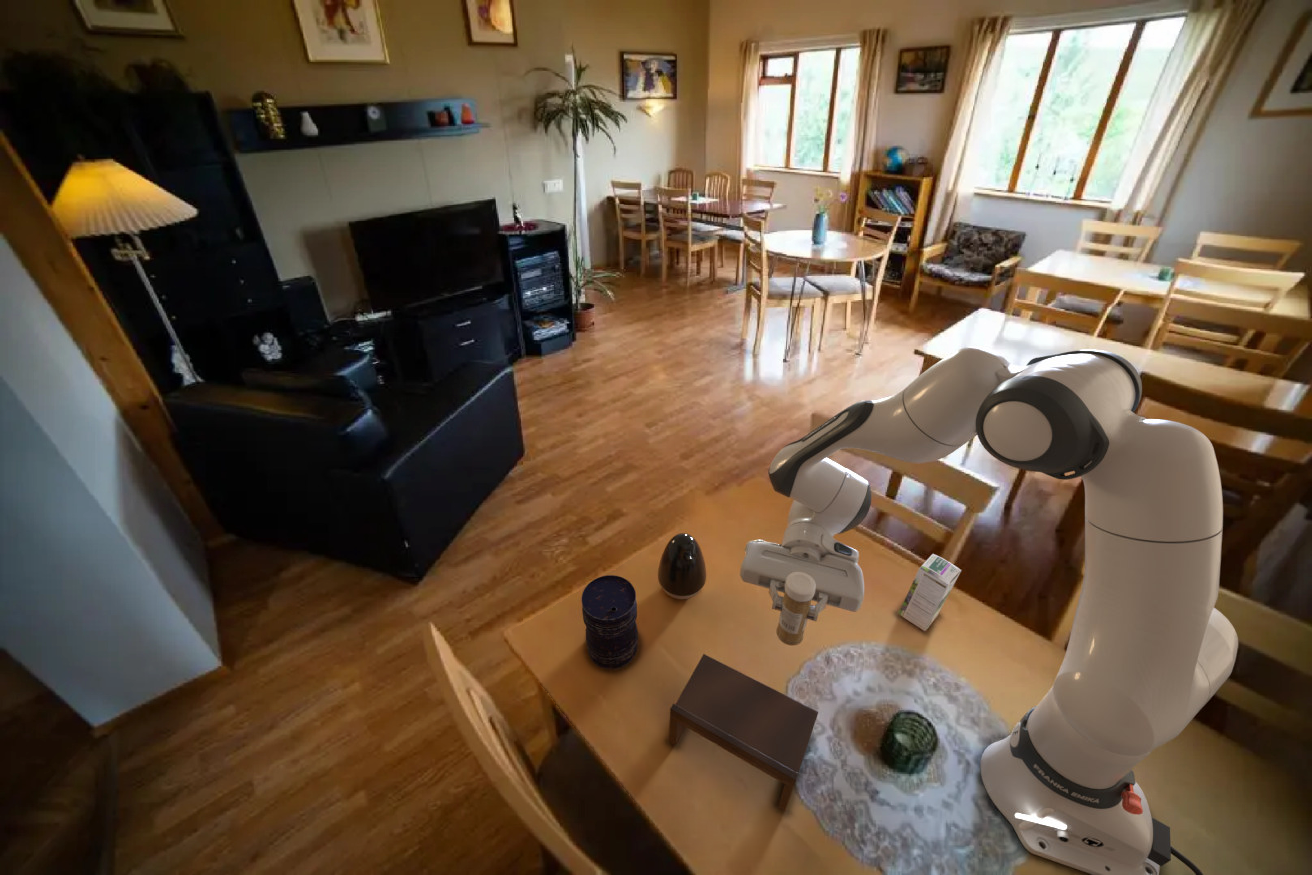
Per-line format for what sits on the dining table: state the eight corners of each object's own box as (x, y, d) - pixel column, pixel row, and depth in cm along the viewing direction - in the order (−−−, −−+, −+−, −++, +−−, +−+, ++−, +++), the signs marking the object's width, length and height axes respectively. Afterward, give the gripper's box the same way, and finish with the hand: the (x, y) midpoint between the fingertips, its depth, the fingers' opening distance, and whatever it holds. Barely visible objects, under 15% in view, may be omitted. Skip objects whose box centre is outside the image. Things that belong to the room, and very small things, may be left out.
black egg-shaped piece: (664, 612, 109) (665, 562, 100) (653, 573, 117) (652, 524, 108) (712, 602, 111) (716, 552, 102) (697, 565, 119) (700, 515, 110)
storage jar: (581, 633, 105) (574, 583, 96) (628, 617, 108) (625, 568, 99) (595, 677, 97) (589, 628, 89) (645, 659, 100) (644, 609, 92)
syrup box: (910, 598, 112) (931, 551, 103) (938, 616, 108) (962, 568, 100) (897, 614, 108) (917, 566, 100) (926, 633, 105) (949, 585, 96)
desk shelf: (809, 739, 88) (820, 706, 82) (785, 811, 80) (796, 780, 74) (701, 682, 97) (704, 647, 90) (669, 741, 88) (670, 708, 82)
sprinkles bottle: (808, 637, 89) (822, 585, 81) (789, 651, 87) (801, 598, 79) (789, 618, 92) (800, 566, 85) (769, 631, 90) (779, 578, 82)
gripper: (750, 525, 97) (732, 582, 86) (868, 553, 91) (864, 618, 80) (747, 549, 100) (729, 606, 90) (860, 578, 94) (856, 643, 84)
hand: (794, 612), depth 85 cm, fingers closed on sprinkles bottle, 4 cm apart
